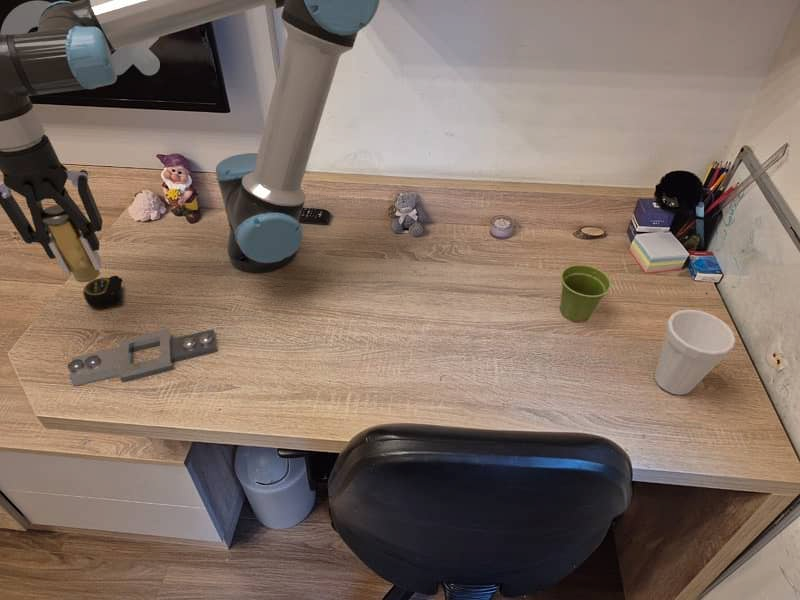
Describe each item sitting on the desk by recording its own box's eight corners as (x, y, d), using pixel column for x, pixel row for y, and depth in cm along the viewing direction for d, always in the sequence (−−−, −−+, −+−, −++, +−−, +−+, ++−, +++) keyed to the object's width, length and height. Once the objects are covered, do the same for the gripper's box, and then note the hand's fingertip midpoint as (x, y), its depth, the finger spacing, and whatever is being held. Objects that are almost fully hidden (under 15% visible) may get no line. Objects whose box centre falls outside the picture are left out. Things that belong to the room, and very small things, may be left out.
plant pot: (607, 310, 106) (619, 277, 100) (587, 336, 101) (599, 303, 95) (564, 290, 110) (574, 258, 105) (543, 314, 105) (552, 281, 99)
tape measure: (123, 307, 106) (116, 293, 104) (86, 314, 105) (79, 300, 102) (125, 286, 111) (119, 272, 109) (90, 292, 110) (83, 278, 107)
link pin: (102, 264, 94) (72, 202, 85) (101, 280, 91) (69, 217, 82) (74, 270, 93) (40, 207, 84) (71, 286, 90) (36, 222, 81)
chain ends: (214, 326, 102) (210, 316, 100) (218, 358, 96) (215, 348, 94) (76, 358, 96) (69, 348, 94) (71, 394, 90) (65, 384, 88)
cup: (713, 382, 92) (746, 331, 84) (687, 415, 87) (720, 363, 78) (659, 352, 98) (685, 300, 89) (632, 380, 93) (657, 329, 84)
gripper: (84, 121, 80) (136, 245, 96) (-45, 138, 76) (32, 265, 91) (80, 142, 75) (135, 270, 90) (-59, 161, 70) (25, 291, 86)
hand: (83, 267), depth 91 cm, fingers closed on link pin, 4 cm apart
